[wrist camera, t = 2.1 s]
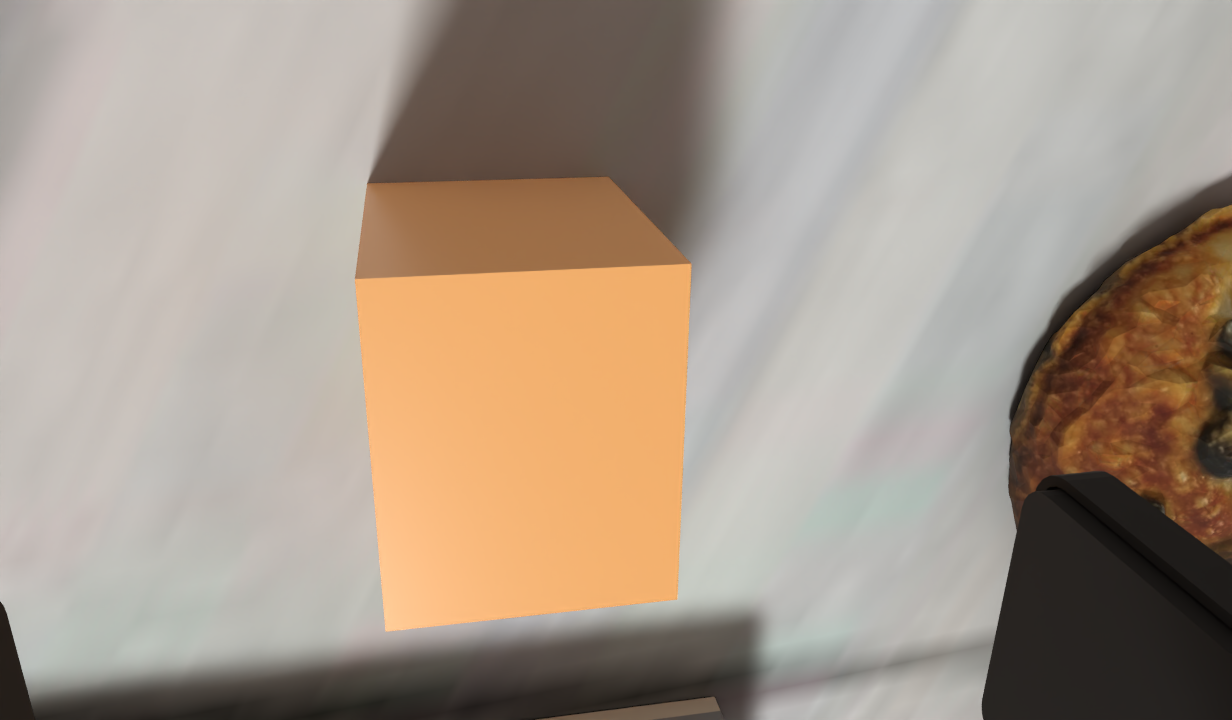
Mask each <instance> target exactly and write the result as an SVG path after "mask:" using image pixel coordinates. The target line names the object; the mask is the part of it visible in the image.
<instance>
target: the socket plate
mask: <svg viewBox="0 0 1232 720" xmlns="http://www.w3.org/2000/svg"><path fill="white" fill-rule="evenodd" d="M537 720H724V718H723V716H722V713H721V711H720V709H719V706H718V704H717V701H716V699H715V697H708V698H700V699H693V700H685V701H677V702H669V703H661V704H654V705H646V706H638V707H630V708H622V709H615V710H607V711H599V712H591V713H584V714H576V715H568V716H560V717H552V718H545V719H537Z"/></svg>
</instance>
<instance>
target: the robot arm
mask: <svg viewBox="0 0 1232 720" xmlns="http://www.w3.org/2000/svg"><path fill="white" fill-rule="evenodd" d="M982 715H983V720H1232V565H1231V564H1230V563H1229V562H1227V561H1226V560H1225V559H1223V558H1222V557H1221V556H1219V555H1218V554H1217V553H1215V552H1214V551H1213V550H1211V549H1210V548H1209V547H1207V546H1206V545H1205V544H1203V543H1202V542H1201V541H1199V540H1198V539H1197V538H1195V537H1194V536H1193V535H1191V534H1190V533H1189V532H1187V531H1186V530H1185V529H1184V528H1182V527H1181V526H1180V525H1178V524H1177V523H1176V522H1174V521H1173V520H1172V519H1170V518H1169V517H1168V516H1166V515H1165V514H1164V513H1162V512H1161V511H1160V510H1158V509H1157V508H1156V507H1154V506H1153V505H1152V504H1150V503H1149V502H1148V501H1146V500H1145V499H1144V498H1142V497H1141V496H1140V495H1138V494H1137V493H1136V492H1134V491H1133V490H1132V489H1130V488H1129V487H1128V486H1126V485H1125V484H1124V483H1122V482H1121V481H1120V480H1118V479H1117V478H1116V477H1114V476H1113V475H1111V474H1109V473H1107V472H1105V471H1091V472H1081V473H1071V474H1061V475H1051V476H1048V477H1046V478H1044V479H1042V481H1041V482H1040V483H1039V484H1038V486H1037V488H1036V491H1035V492H1032V493H1030V494H1029V495H1028V496H1027V497H1026V498H1025V500H1024V503H1023V506H1022V509H1021V514H1020V519H1019V524H1018V529H1017V534H1016V538H1015V543H1014V548H1013V553H1012V558H1011V563H1010V568H1009V572H1008V577H1007V582H1006V587H1005V592H1004V597H1003V601H1002V606H1001V611H1000V616H999V621H998V626H997V631H996V635H995V640H994V645H993V650H992V655H991V660H990V664H989V669H988V674H987V679H986V684H985V689H984V694H983V698H982ZM0 720H35V717H34V713H33V710H32V706H31V702H30V699H29V695H28V691H27V687H26V684H25V680H24V676H23V672H22V669H21V665H20V661H19V658H18V654H17V650H16V646H15V643H14V639H13V635H12V631H11V628H10V624H9V620H8V617H7V613H6V611H5V608H4V606H3V604H2V603H1V602H0Z"/></svg>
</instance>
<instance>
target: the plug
mask: <svg viewBox="0 0 1232 720" xmlns="http://www.w3.org/2000/svg"><path fill="white" fill-rule="evenodd" d="M355 285H356V296H357V308H358V319H359V331H360V342H361V354H362V365H363V376H364V388H365V399H366V411H367V422H368V434H369V445H370V457H371V468H372V480H373V491H374V503H375V514H376V526H377V537H378V549H379V560H380V572H381V583H382V595H383V606H384V618H385V629H386V632H387V631H396V630H405V629H414V628H423V627H432V626H441V625H450V624H459V623H468V622H477V621H486V620H495V619H504V618H513V617H523V616H532V615H541V614H550V613H559V612H568V611H577V610H586V609H595V608H604V607H613V606H622V605H631V604H640V603H649V602H659V601H668V600H677V594H678V570H679V547H680V523H681V499H682V476H683V452H684V429H685V405H686V382H687V358H688V334H689V311H690V287H691V263H690V262H689V261H688V260H687V259H686V258H685V256H684V255H683V254H682V253H681V252H680V251H679V250H678V249H677V248H676V247H675V246H674V245H673V244H672V243H671V242H670V241H669V240H668V239H667V238H666V237H665V235H664V234H663V233H662V232H661V231H660V230H659V229H658V228H657V227H656V226H655V225H654V224H653V223H652V222H651V221H650V220H649V219H648V218H647V217H646V216H645V214H644V213H643V212H642V211H641V210H640V209H639V208H638V207H637V206H636V205H635V204H634V203H633V202H632V201H631V200H630V199H629V198H628V197H627V196H626V194H625V193H624V192H623V191H622V190H621V189H620V188H619V187H618V186H617V185H616V184H615V183H614V182H613V181H612V180H611V179H610V178H609V177H580V178H544V179H508V180H472V181H436V182H400V183H367V189H366V197H365V205H364V213H363V220H362V228H361V236H360V244H359V252H358V260H357V268H356V275H355Z"/></svg>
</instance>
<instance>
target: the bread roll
mask: <svg viewBox="0 0 1232 720" xmlns="http://www.w3.org/2000/svg"><path fill="white" fill-rule="evenodd" d="M1010 435H1011V438H1012V445H1011V452H1010V459H1009V461H1010V469H1009V470H1010V477H1009V484H1008V488H1009V496H1010V498H1011V502H1012V508H1013V514H1014V519H1015V524H1016V529H1018V524H1019V519H1020V514H1021V509H1022V506H1023V503H1024V500H1025V498H1026V497H1027V496H1028V495H1029V494H1030V493H1032V492H1035V491H1036V488H1037V486H1038V484H1039V483H1040V482H1041V481H1042V479H1044V478H1046V477H1048V476H1051V475H1061V474H1071V473H1081V472H1091V471H1105V472H1107V473H1109V474H1111V475H1113V476H1114V477H1116V478H1117V479H1118V480H1120V481H1121V482H1122V483H1124V484H1125V485H1126V486H1128V487H1129V488H1130V489H1132V490H1133V491H1134V492H1136V493H1137V494H1138V495H1140V496H1141V497H1142V498H1144V499H1145V500H1146V501H1148V502H1149V503H1150V504H1152V505H1153V506H1154V507H1156V508H1157V509H1158V510H1160V511H1161V512H1162V513H1164V514H1165V515H1166V516H1168V517H1169V518H1170V519H1172V520H1173V521H1174V522H1176V523H1177V524H1178V525H1180V526H1181V527H1182V528H1184V529H1185V530H1186V531H1187V532H1189V533H1190V534H1191V535H1193V536H1194V537H1195V538H1197V539H1198V540H1199V541H1201V542H1202V543H1203V544H1205V545H1206V546H1207V547H1209V548H1210V549H1211V550H1213V551H1214V552H1215V553H1217V554H1218V555H1219V556H1221V557H1222V558H1223V559H1225V560H1226V561H1227V562H1229V563H1230V564H1231V565H1232V205H1229V206H1226V207H1224V208H1218V209H1211V210H1210V211H1208V212H1206V213H1205V214H1203V215H1202V216H1200V217H1199V218H1198V219H1197V220H1196V221H1194V222H1193V223H1192V224H1190V225H1189V226H1188V227H1186V228H1185V229H1183V230H1181V231H1180V232H1178V233H1177V234H1175V235H1173V236H1171V237H1169V238H1168V239H1166V240H1165V241H1164V242H1162V243H1161V244H1159V245H1157V246H1155V247H1154V248H1152V249H1150V250H1148V251H1146V252H1144V253H1142V254H1140V255H1138V256H1137V257H1135V258H1133V259H1131V260H1129V261H1127V262H1126V263H1125V264H1123V265H1122V266H1121V267H1120V268H1119V269H1118V270H1116V271H1115V272H1113V274H1112V275H1111V276H1110V277H1109V278H1107V279H1106V280H1104V282H1103V284H1102V285H1101V287H1100V288H1099V290H1098V291H1097V292H1096V293H1094V294H1093V295H1092V296H1091V297H1090V298H1089V299H1088V300H1087V301H1086V302H1085V303H1084V304H1083V305H1082V306H1081V307H1080V308H1079V309H1077V310H1076V311H1075V312H1074V313H1073V314H1072V315H1071V317H1070V318H1069V319H1068V320H1067V321H1066V323H1065V324H1064V325H1063V326H1062V327H1061V328H1060V330H1059V331H1058V332H1056V333H1054V334H1053V335H1052V337H1051V338H1050V340H1049V341H1048V343H1047V344H1046V346H1045V348H1044V350H1043V352H1042V354H1041V356H1040V358H1039V360H1038V362H1037V364H1036V366H1035V368H1034V370H1033V372H1032V374H1031V376H1030V379H1029V381H1028V383H1027V385H1026V388H1025V390H1024V393H1023V395H1022V398H1021V401H1020V403H1019V406H1018V409H1017V411H1016V413H1015V416H1014V418H1013V420H1012V422H1011V425H1010Z"/></svg>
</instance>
